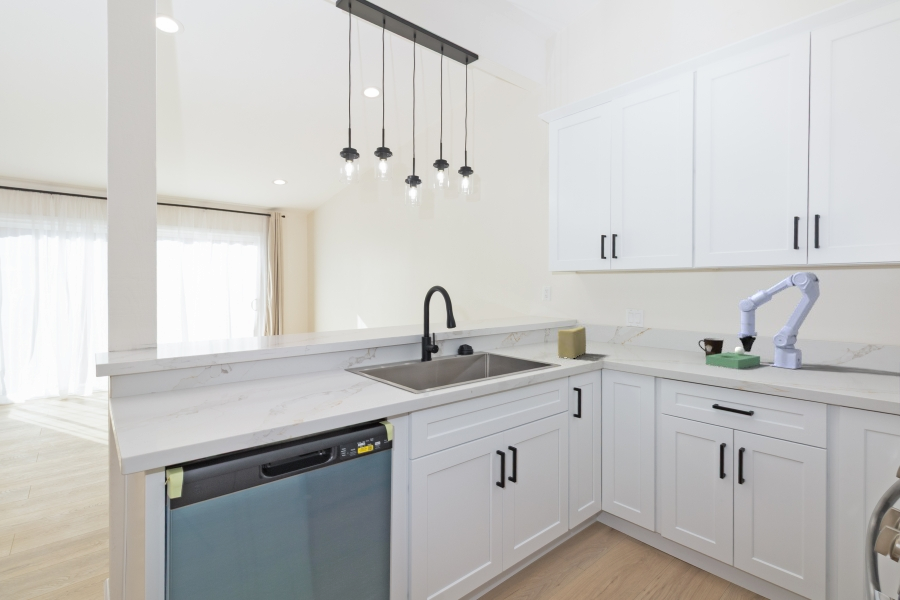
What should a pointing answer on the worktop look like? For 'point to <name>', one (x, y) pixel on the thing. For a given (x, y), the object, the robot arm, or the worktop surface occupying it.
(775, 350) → the robot arm
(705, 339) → the coffee mug
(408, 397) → the worktop surface
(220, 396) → the worktop surface
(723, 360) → the practice green
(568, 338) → the cheese
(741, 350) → the ball
